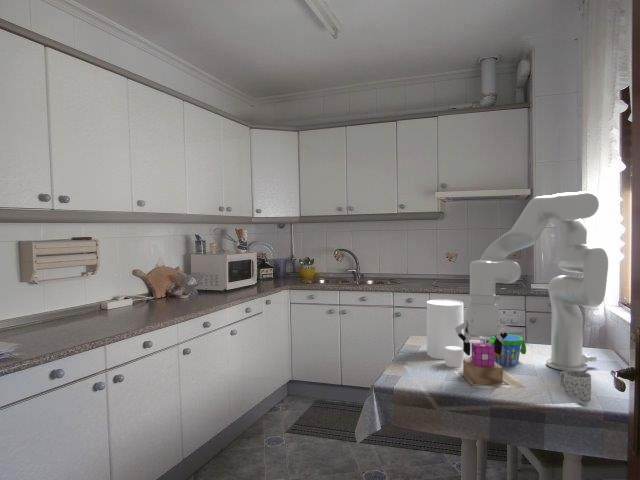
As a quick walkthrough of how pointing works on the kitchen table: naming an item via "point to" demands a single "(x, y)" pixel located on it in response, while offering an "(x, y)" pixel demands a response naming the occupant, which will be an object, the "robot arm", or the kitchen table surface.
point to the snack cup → (509, 350)
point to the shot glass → (453, 356)
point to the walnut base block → (482, 373)
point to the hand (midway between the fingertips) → (482, 353)
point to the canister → (443, 326)
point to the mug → (576, 384)
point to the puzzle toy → (483, 354)
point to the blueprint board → (507, 383)
